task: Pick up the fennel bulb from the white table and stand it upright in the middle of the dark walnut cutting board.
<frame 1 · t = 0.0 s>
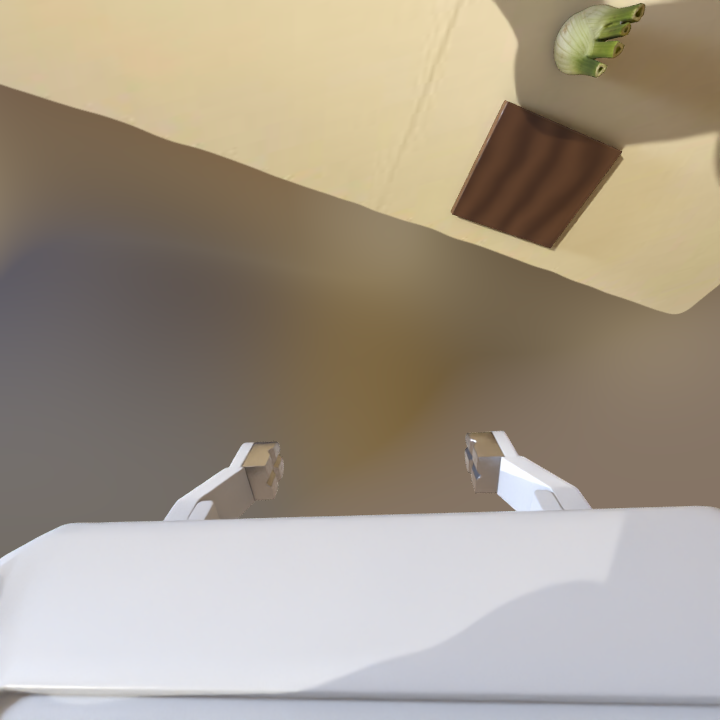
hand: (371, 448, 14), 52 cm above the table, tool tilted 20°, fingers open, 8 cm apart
fennel bulb: (569, 39, 43), on the table
cutting board: (528, 182, 54), on the table
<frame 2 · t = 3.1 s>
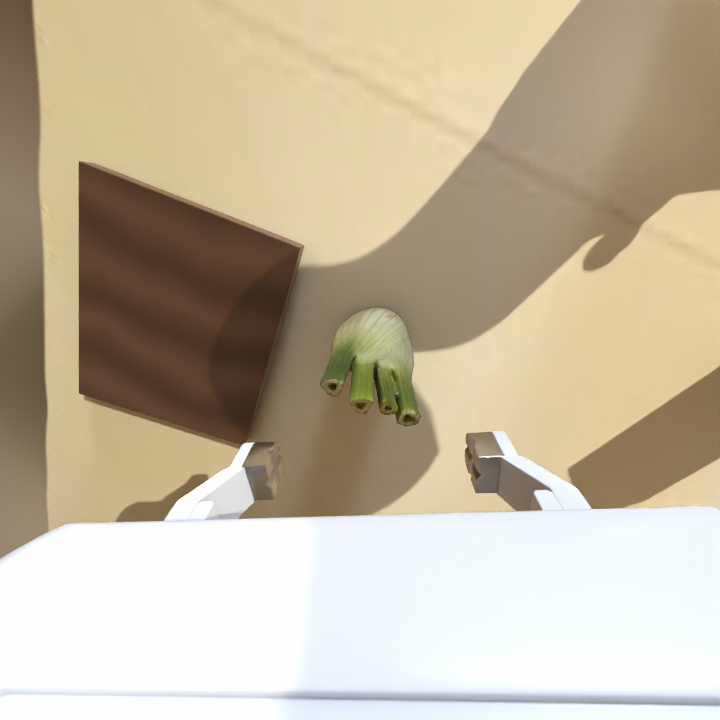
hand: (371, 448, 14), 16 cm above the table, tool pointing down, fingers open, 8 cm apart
fennel bulb: (377, 328, 29), on the table
cutting board: (185, 323, 29), on the table
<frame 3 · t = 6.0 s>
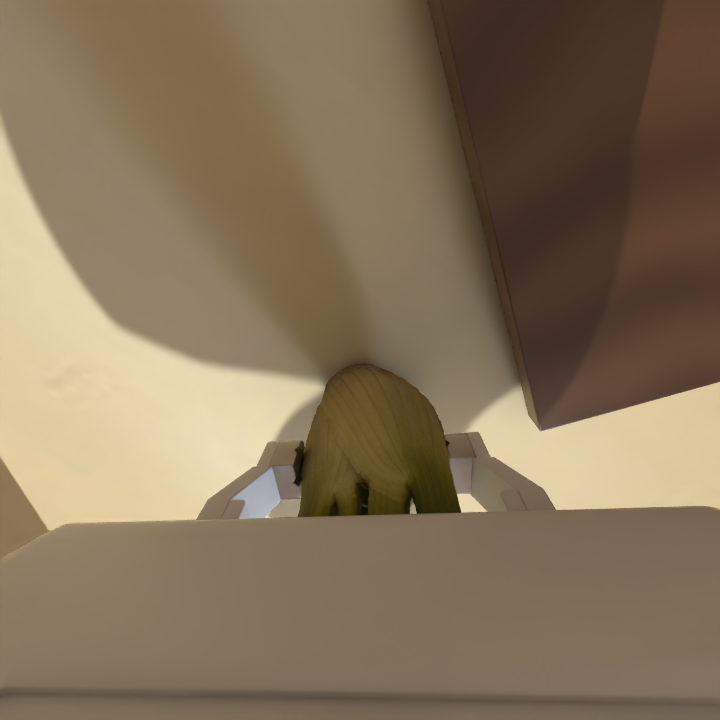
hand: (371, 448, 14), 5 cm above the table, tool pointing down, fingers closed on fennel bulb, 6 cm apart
fennel bulb: (370, 393, 19), on the table, touching gripper
cutting board: (683, 163, 13), on the table
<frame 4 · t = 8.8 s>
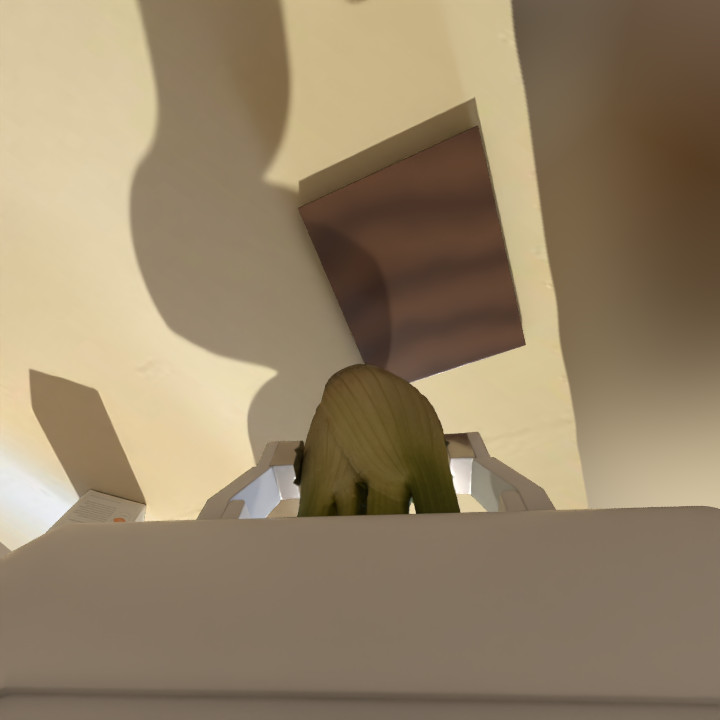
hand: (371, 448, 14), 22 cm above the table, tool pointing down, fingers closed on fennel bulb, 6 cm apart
small box: (118, 510, 48), on the table
fennel bulb: (370, 393, 19), point 17 cm above the table, touching gripper
cutting board: (417, 278, 33), on the table
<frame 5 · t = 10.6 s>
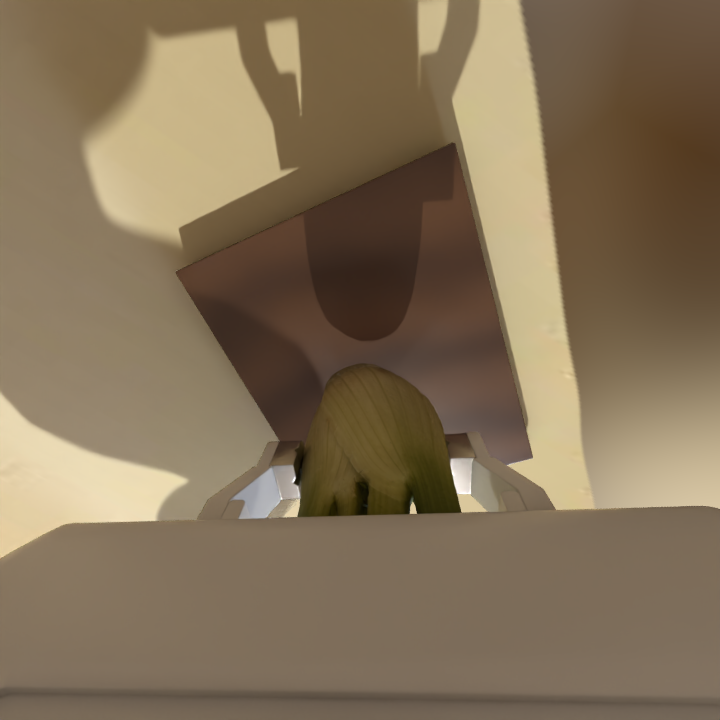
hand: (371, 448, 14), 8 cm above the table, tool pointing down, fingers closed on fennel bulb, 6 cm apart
fennel bulb: (370, 393, 19), point 4 cm above the table, touching gripper
cutting board: (372, 364, 22), on the table
when the fingers open (6 cm above the table, at t = 11.9 s): fennel bulb stays where it is, resting on cutting board.
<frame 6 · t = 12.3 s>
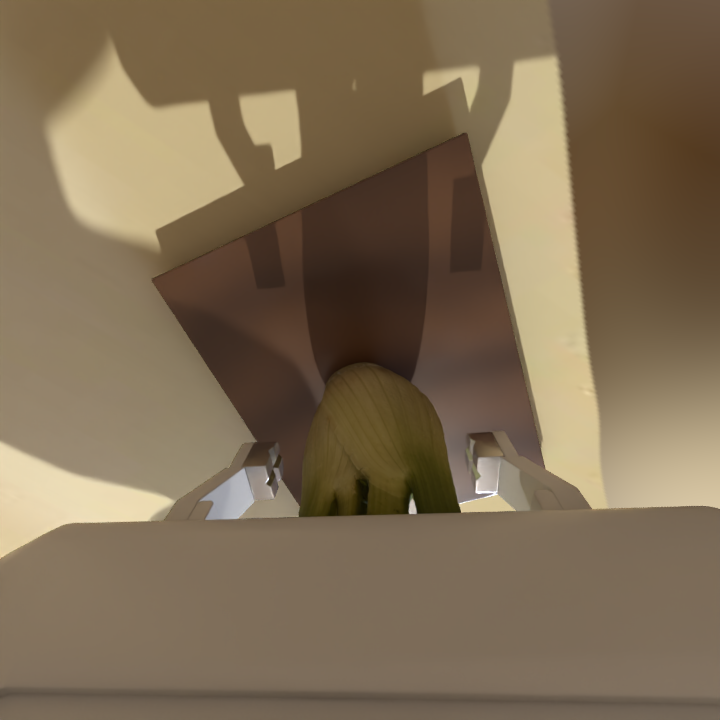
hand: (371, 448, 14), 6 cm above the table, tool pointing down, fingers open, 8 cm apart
fennel bulb: (370, 392, 19), point 1 cm above the table, touching cutting board
cutting board: (372, 380, 20), on the table
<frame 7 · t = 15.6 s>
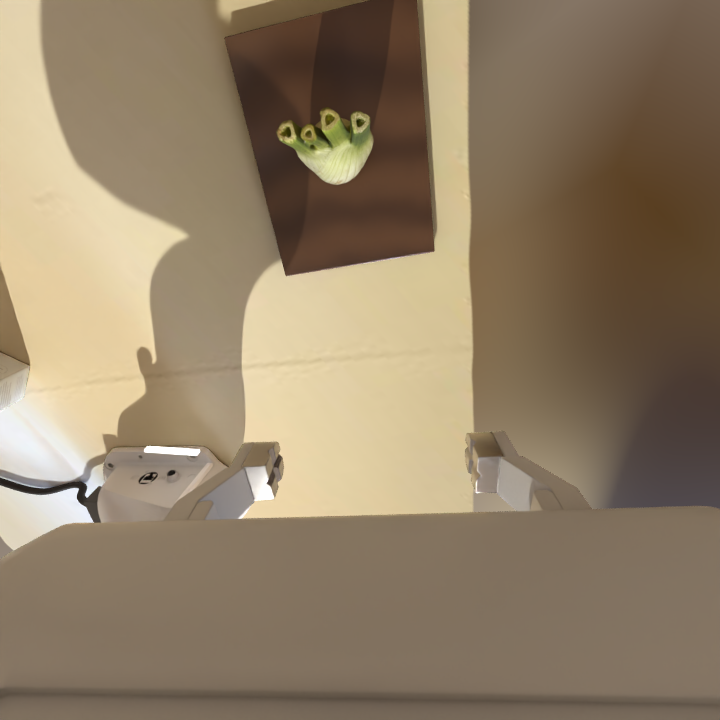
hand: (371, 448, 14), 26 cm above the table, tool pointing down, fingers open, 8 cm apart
fennel bulb: (339, 156, 31), point 1 cm above the table, touching cutting board
cutting board: (341, 157, 32), on the table
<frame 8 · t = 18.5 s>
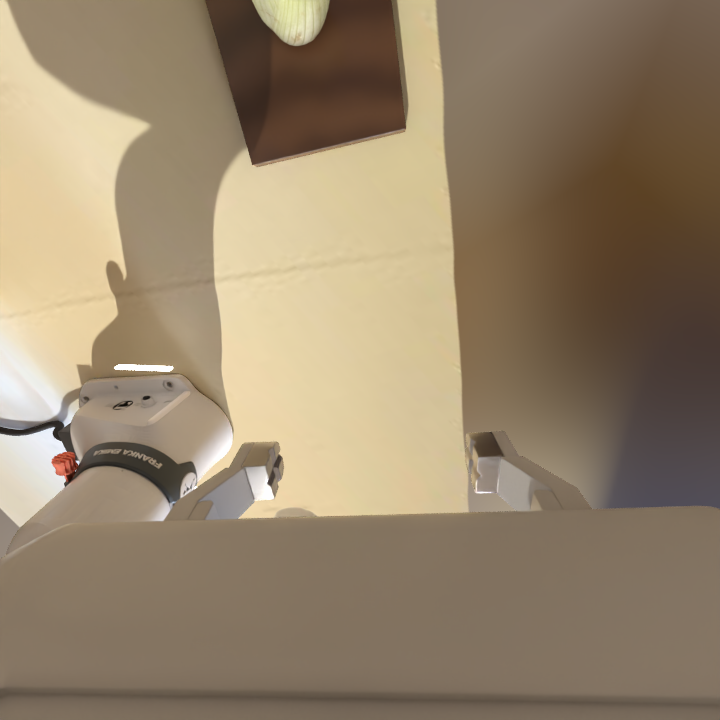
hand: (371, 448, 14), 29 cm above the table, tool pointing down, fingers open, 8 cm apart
fennel bulb: (300, 19, 30), point 1 cm above the table, touching cutting board
cutting board: (304, 25, 31), on the table
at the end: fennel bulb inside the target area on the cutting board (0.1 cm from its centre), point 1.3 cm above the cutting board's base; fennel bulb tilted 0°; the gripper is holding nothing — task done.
